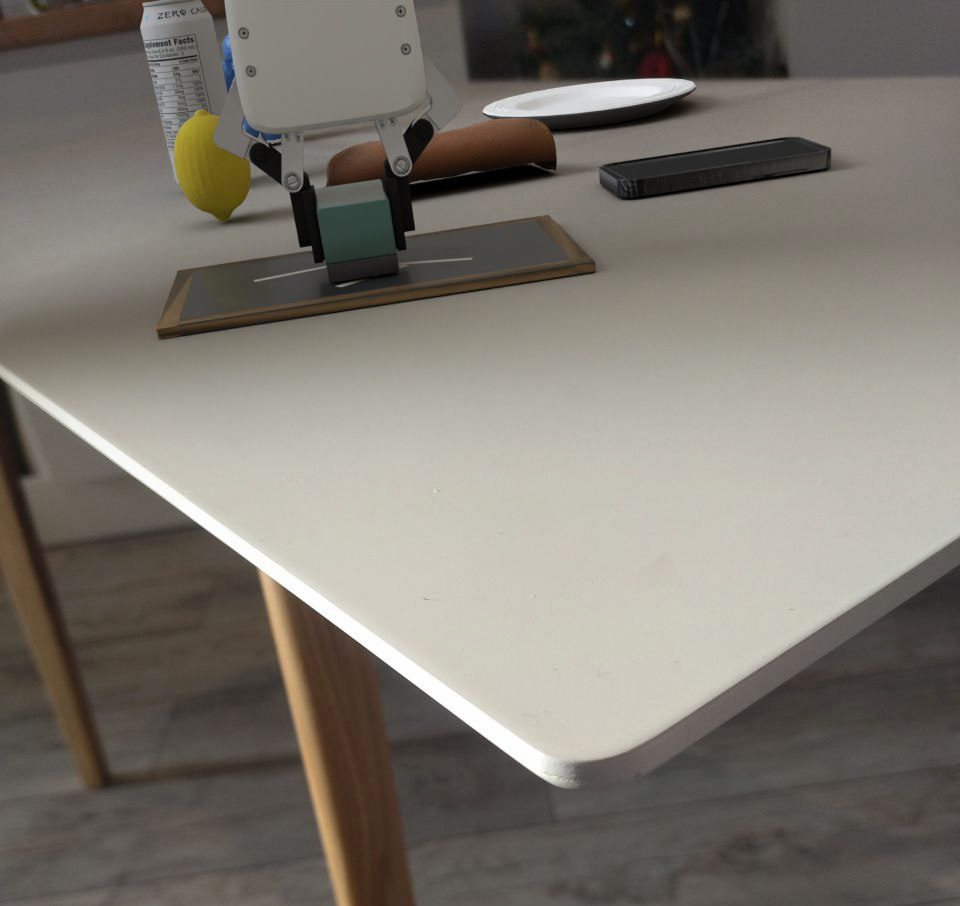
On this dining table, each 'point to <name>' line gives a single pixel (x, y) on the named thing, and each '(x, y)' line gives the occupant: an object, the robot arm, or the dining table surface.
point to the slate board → (422, 274)
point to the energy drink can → (182, 63)
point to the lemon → (209, 168)
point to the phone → (713, 166)
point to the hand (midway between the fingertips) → (359, 248)
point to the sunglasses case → (455, 152)
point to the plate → (593, 102)
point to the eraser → (356, 230)
